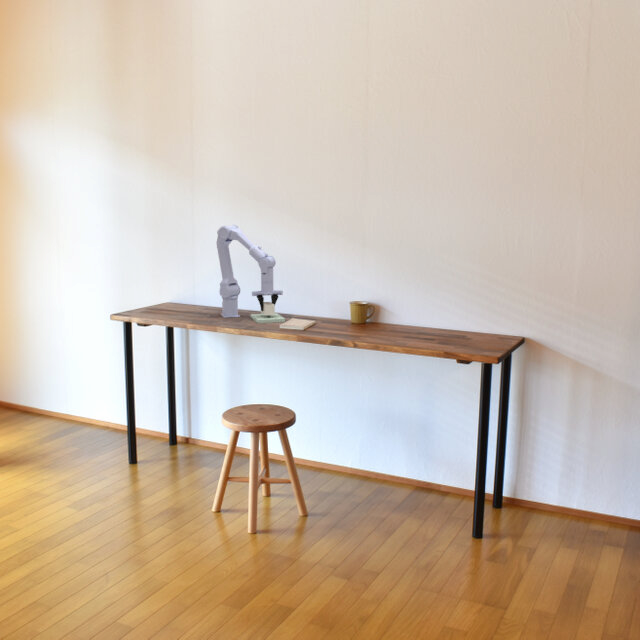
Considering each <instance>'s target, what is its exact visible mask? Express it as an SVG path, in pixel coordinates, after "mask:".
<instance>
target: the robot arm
mask: <svg viewBox="0 0 640 640" xmlns="http://www.w3.org/2000/svg"><path fill="white" fill-rule="evenodd" d="M216 233H217V239H216V249H217V255H218V260H219V266H220V271H221V277H222V280H221V281H220V283H219V295H220V296H221V299H222V303H221V305H222V307H221V308H222V310H221V311H222V313H220V315H221V317H223V318H224V319H226V318H227V319H228V318H240V317H241V315H240V314H239V308H238V307H239V306H238V305H239V301H238V298H239V295H240V294H241V287H240V285H239V283H238V280H237V279H236V278H235V276H234V272H233V271H234V270H233V265H232V259H231V252H230V248H229V245H230V244H231V243H232V241H237V242H239V243H240V244H241V245H242V246H243V247H244V248H246V249H247V250H248V253H249V254H248V255H250V256H251V257H252V258H253V259H254V260H255V262H257V264H258V267H259V269H260V272H261V273H260V278H261V279H260V282H261V283H260V284H261V285H260V289H261V290H258V291H256V290H255V291H251V297H256V298H257V301H258V303H259V305H260V312H261V311H263V307H264V306H263V302H265V301H264V300H265V297H264V296H270V298H271V301H270V302H271V303H273V304H274V305H275V306H276V303H277V301H278V299H279V296H283V295H284V292H283V290H274V267H275V265H276V262H277V261H276V260H275V258H274V257H273V255H269V254H268V253H267V252H265V251H264V249H262V246H260V245H257V244H256V245H254V244H253V242H252V241H251V240H250V239H249V238H248V237H247V236H246V235H245V233H243V230H242V229H241V228H239V226H238V225H236V224H232V225H222V226H220V227H219V228H218V230H217V231H216Z"/></svg>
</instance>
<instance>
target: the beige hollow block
mask: <svg viewBox="0 0 640 640" xmlns="http://www.w3.org/2000/svg"><path fill="white" fill-rule="evenodd" d="M263 306H264V307H263V311H261V310H260V314H264V315H265V316H266V315H275V313H276V312H275V311H276V310H275V309H276V308H275V306H276V304H275V305H274V304H273V303H272V301H264V302H263Z"/></svg>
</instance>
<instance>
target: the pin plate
mask: <svg viewBox="0 0 640 640" xmlns="http://www.w3.org/2000/svg"><path fill="white" fill-rule="evenodd" d="M250 319H252V320H253V321H255V322H256V323H257V324H270V323H271V324H272V323H285V322H286V318H285V317H283V316H282V315H280V314H279V313H278V312H275V315H266V316H265V315H264V314H262V313H251V314H250Z"/></svg>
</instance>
